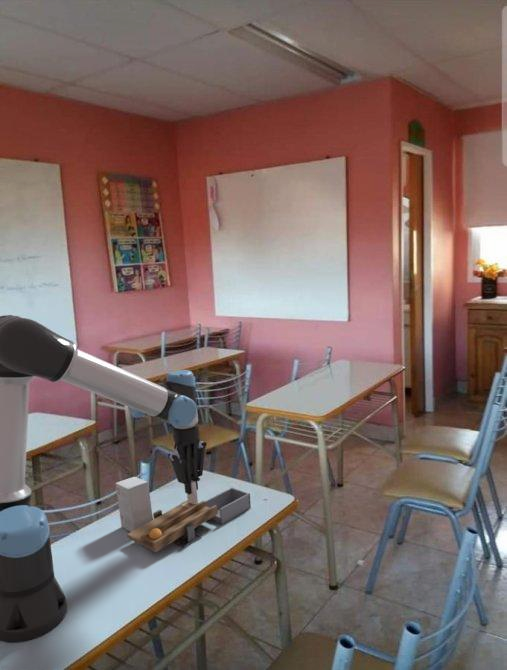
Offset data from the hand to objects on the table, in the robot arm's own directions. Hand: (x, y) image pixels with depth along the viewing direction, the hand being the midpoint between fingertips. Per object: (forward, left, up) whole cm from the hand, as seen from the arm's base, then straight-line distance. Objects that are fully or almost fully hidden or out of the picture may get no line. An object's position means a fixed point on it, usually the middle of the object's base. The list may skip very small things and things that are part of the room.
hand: (192, 502), depth 160 cm
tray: (+8, -6, -4) cm, 11 cm away
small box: (-14, +8, -4) cm, 17 cm away
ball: (-19, -6, 0) cm, 20 cm away
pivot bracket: (-10, -3, -4) cm, 11 cm away
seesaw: (-10, -3, -1) cm, 11 cm away
